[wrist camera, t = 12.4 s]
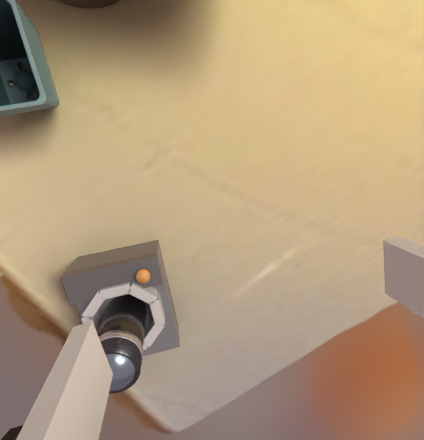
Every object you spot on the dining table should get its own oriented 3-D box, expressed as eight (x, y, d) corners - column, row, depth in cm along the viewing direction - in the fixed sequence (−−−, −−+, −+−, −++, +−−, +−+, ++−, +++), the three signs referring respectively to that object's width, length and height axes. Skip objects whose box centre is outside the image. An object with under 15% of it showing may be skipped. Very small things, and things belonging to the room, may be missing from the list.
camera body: (77, 257, 38) (58, 281, 31) (158, 240, 39) (156, 259, 32) (105, 343, 42) (93, 381, 35) (178, 324, 43) (180, 358, 36)
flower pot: (1, 128, 33) (-57, 120, 24) (-30, 46, 31) (-106, 4, 22) (77, 115, 34) (47, 103, 25) (52, 34, 32) (11, -10, 23)
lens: (100, 325, 35) (75, 391, 26) (112, 289, 35) (91, 343, 25) (140, 333, 37) (131, 400, 27) (152, 299, 36) (148, 354, 26)
